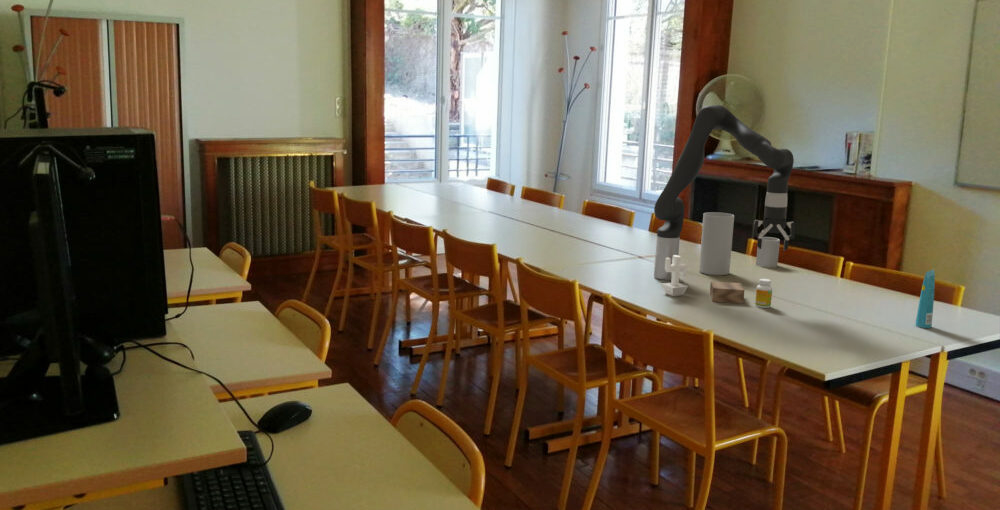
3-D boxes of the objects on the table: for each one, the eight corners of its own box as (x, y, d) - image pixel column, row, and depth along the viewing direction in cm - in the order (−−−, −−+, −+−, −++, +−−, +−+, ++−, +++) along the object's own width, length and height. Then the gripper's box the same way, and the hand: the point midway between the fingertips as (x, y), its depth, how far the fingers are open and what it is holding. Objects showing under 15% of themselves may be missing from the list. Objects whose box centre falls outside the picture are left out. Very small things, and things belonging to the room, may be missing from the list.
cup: (755, 266, 368) (757, 239, 366) (756, 262, 377) (759, 236, 374) (776, 268, 365) (779, 241, 363) (777, 264, 373) (780, 238, 371)
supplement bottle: (768, 309, 296) (770, 282, 294) (753, 306, 299) (755, 280, 297) (772, 305, 301) (774, 279, 299) (757, 303, 304) (759, 277, 302)
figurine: (690, 295, 313) (693, 256, 310) (669, 297, 309) (672, 258, 306) (678, 291, 319) (680, 252, 316) (658, 293, 315) (660, 254, 312)
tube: (918, 322, 284) (925, 267, 280) (933, 325, 281) (941, 270, 277) (912, 327, 278) (919, 271, 274) (928, 330, 275) (935, 273, 271)
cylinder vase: (726, 270, 359) (731, 212, 354) (731, 276, 346) (736, 217, 341) (697, 268, 360) (701, 211, 355) (701, 275, 348) (705, 216, 343)
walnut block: (712, 301, 305) (713, 288, 304) (709, 294, 316) (710, 281, 315) (743, 303, 303) (744, 290, 302) (739, 296, 314) (740, 283, 313)
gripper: (755, 205, 296) (752, 250, 299) (797, 207, 292) (794, 252, 295) (754, 202, 303) (751, 246, 306) (795, 204, 299) (792, 248, 302)
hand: (772, 249), depth 301 cm, fingers open, 8 cm apart
